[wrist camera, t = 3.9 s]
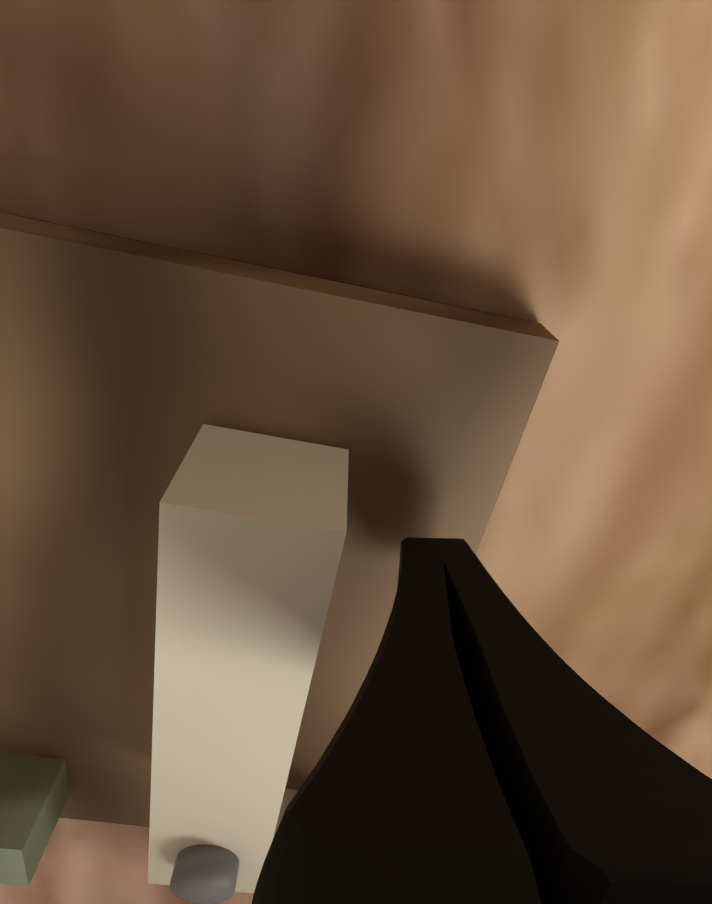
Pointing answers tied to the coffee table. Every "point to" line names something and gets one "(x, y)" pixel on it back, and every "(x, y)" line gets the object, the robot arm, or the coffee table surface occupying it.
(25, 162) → the coffee table surface
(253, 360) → the board
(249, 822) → the leg
